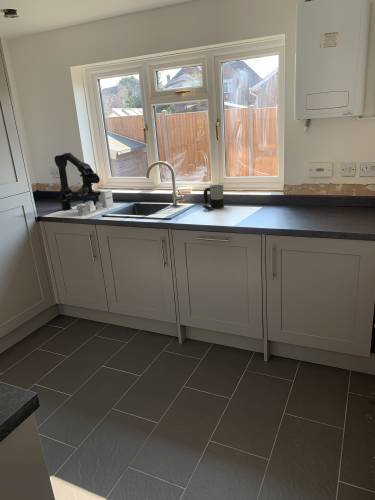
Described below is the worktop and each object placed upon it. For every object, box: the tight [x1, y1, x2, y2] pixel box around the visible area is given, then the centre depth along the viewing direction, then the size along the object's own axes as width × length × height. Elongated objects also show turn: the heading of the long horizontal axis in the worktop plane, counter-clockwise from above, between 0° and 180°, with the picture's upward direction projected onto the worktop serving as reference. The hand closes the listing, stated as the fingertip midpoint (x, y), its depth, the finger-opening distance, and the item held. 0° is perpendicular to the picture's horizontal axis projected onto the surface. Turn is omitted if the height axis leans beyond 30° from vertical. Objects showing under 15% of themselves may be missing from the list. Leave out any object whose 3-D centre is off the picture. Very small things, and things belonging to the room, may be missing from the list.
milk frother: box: [202, 184, 225, 211], centre depth 265 cm, size 14×16×15 cm
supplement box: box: [98, 189, 114, 209], centre depth 295 cm, size 7×7×13 cm
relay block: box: [76, 203, 85, 211], centre depth 298 cm, size 4×4×4 cm
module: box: [84, 200, 96, 211], centre depth 283 cm, size 4×6×6 cm
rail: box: [76, 201, 106, 217], centre depth 283 cm, size 6×22×6 cm, turn 147°
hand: (90, 205), depth 283 cm, fingers open, 9 cm apart
